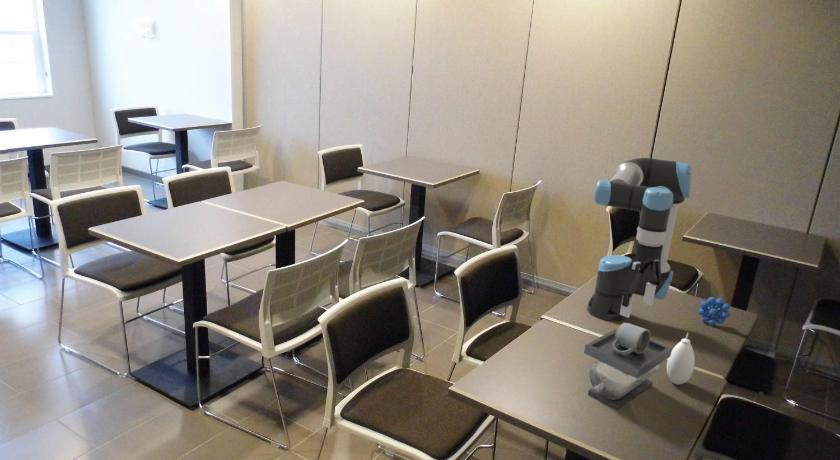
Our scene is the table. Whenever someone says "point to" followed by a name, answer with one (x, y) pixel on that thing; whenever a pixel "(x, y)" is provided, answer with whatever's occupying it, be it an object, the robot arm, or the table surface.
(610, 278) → the robot arm
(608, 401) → the grey piece
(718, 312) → the grapes
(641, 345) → the ceramic mug
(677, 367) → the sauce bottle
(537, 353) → the table surface
